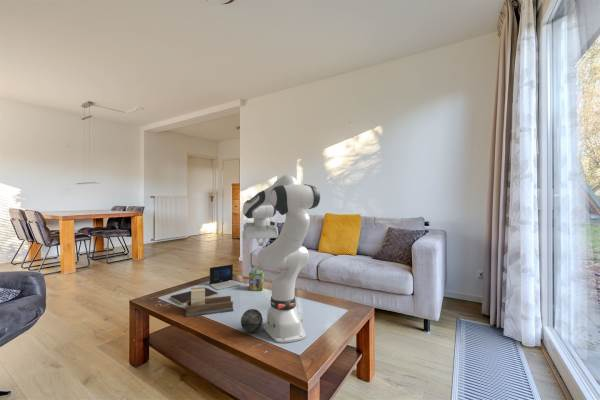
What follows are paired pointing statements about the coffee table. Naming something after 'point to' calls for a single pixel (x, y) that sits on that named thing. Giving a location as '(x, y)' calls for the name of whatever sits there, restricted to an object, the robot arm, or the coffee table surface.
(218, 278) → the laptop
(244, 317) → the decorative stone
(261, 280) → the chalk box
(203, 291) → the block
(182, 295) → the hardcover book
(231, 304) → the chute
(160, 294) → the coffee table surface
